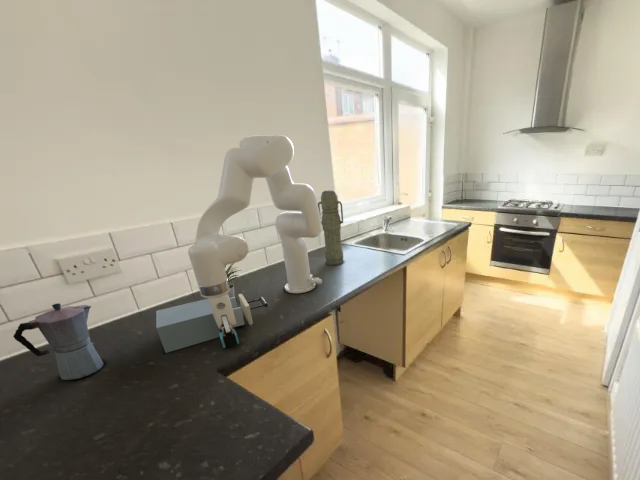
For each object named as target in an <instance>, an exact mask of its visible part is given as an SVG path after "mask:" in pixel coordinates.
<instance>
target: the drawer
mask: <svg viewBox="0 0 640 480" xmlns="http://www.w3.org/2000/svg"><path fill="white" fill-rule="evenodd" d="M229 299H230V302H231V305H232V309H233V312H234V316H235V319H236V325H232V324H231V325H232V329H235V328H237V327H240V326H244V325H245V319H246V321H247V323H248V324H249V326H251V325H253V324H254V321H253V315H252V313H251V310H255V309H258V308H262V307H264V308H267V307H268V306H269V304H268V302H267V301H266V299H265V298H264V297H263V296H259V297H258V298H255V299H252V300H246V297H244V295H243V293H239V294H238V299H239V303H240V306H238V303H237V298H236V297H235V296H234V297H231V298H229ZM259 301H260V303H261V304H259V305H255V306H250V304H252V303H255V302H259ZM244 318H245V319H244Z"/></svg>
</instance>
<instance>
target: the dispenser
mask: <svg viewBox="0 0 640 480" xmlns="http://www.w3.org/2000/svg"><path fill="white" fill-rule="evenodd" d="M155 324H156V325H155V329H156V331H157V334H158V336H159V339H160V342H161V344H162V347H163V350H164V353H165V354H167V353H170V352H174V351H177V350H180V349H184V348H187V347H190V346H194V345H197V344H200V343H205V342H207V341H211V340H214V339H217V338H220V336H219V333H221V331H220V329H219V328H218V326H217V324H216V321H215V319H214V317H213V314H212V312H211V309H210V306H209V303H208V299H207V298H204V299H199V300H196V301H192V302H187V303H183V304H179V305H174V306H171V307H166V308H162V309H158V310H156V312H155Z"/></svg>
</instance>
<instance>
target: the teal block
mask: <svg viewBox="0 0 640 480" xmlns="http://www.w3.org/2000/svg"><path fill="white" fill-rule="evenodd" d="M232 329H233V332H234V333H235V337H236V341H237V345H238V344H240V341H239V337H238V334H237V331H236V330H235V329H236V328H232ZM219 336H220V337H219V339H220V342H221V345H222V348H223V349H225V348H226V347H225V343H224V340H223V333H222V332H221V333H219Z"/></svg>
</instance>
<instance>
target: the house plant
mask: <svg viewBox="0 0 640 480" xmlns="http://www.w3.org/2000/svg"><path fill="white" fill-rule="evenodd" d="M234 264H235V263H232V264H229V265H228V267H227V265H226V266H225V268H226V267H227V269H226V274H227V278H228V281H229V285H230V291H229V292H228V296H229V298H231V297H235V285H234V284H233V282H232V281H233V280H237V279H239V277H240V274H234V273H238V272H240V271H242V269H237V268H238V266H235V267H233V268H232V266H233V265H234ZM233 274H234V275H233Z"/></svg>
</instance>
